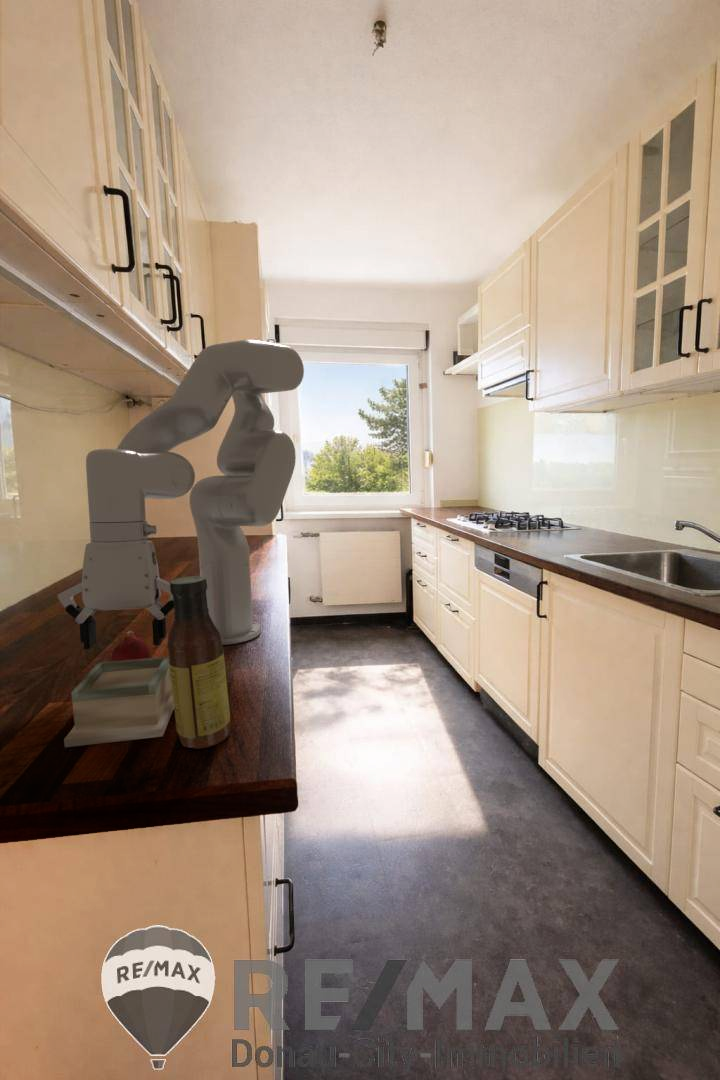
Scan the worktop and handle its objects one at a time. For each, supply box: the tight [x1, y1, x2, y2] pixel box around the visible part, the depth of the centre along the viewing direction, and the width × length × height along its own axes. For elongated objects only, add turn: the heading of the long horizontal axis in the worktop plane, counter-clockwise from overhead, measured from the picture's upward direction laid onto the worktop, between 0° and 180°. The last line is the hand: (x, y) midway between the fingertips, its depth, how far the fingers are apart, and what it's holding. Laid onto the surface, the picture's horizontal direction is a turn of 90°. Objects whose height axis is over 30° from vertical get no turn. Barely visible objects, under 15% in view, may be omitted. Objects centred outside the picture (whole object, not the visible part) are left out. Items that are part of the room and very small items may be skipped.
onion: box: [110, 630, 153, 662], centre depth 74 cm, size 6×6×8 cm
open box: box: [63, 656, 175, 748], centre depth 63 cm, size 12×11×6 cm
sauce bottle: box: [166, 575, 231, 750], centre depth 57 cm, size 7×6×20 cm
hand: (124, 644), depth 73 cm, fingers open, 9 cm apart
